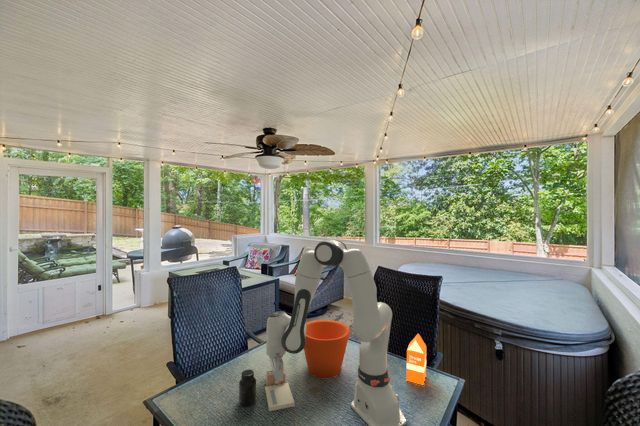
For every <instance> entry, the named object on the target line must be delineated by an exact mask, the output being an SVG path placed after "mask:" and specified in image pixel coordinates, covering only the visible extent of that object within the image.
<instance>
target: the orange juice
mask: <svg viewBox="0 0 640 426" xmlns="http://www.w3.org/2000/svg"><path fill="white" fill-rule="evenodd" d="M425 377H426V378H427V345H426V343H425V342H424V340H423V338H422V336H421V335H420V334H419V333H417V334H416V335H415V336H414V338H413V339H412V340H411V341H410V342H409V344H408V347H407V349H406V381H410V382H414V383H417V384H421V385H424V386H425V383H424V381H425V382H426V379H425ZM410 382H409V383H410ZM417 384H416V385H417Z"/></svg>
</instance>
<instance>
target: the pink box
mask: <svg viewBox="0 0 640 426" xmlns="http://www.w3.org/2000/svg"><path fill="white" fill-rule="evenodd" d="M265 374H266V375H265V377H266V378H265V383H266V385H265V386H268V385H274V384H275V378H274V375H273V371H272V370H268V371H265ZM285 382H286V371H285V370H284V378H283V380H281V381H279V383H278V384H280V383H285Z"/></svg>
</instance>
